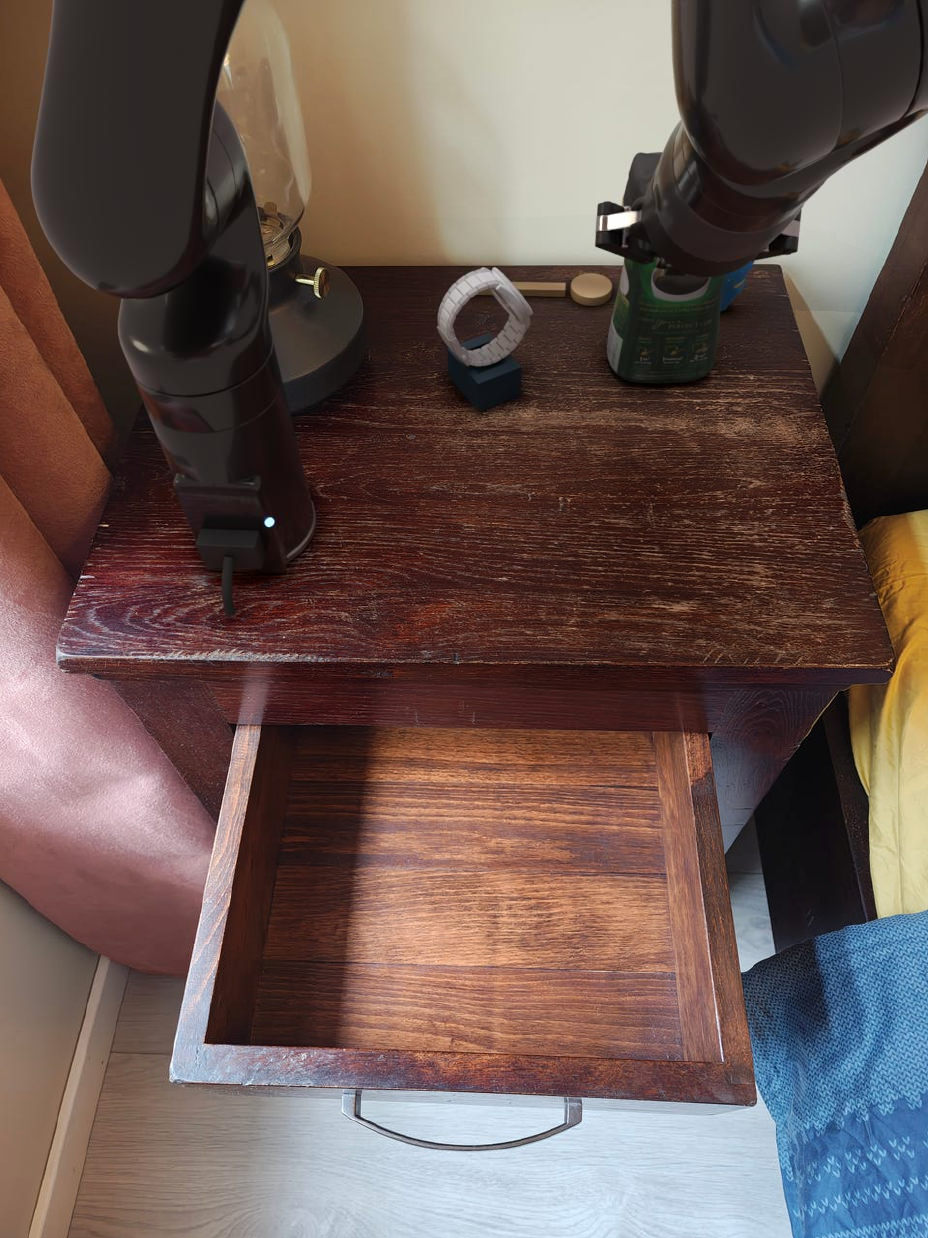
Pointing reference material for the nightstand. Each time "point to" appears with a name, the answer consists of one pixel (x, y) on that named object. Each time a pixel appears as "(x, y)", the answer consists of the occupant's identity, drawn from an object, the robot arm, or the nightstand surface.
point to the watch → (485, 341)
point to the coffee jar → (661, 311)
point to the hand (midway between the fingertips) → (674, 260)
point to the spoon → (583, 289)
